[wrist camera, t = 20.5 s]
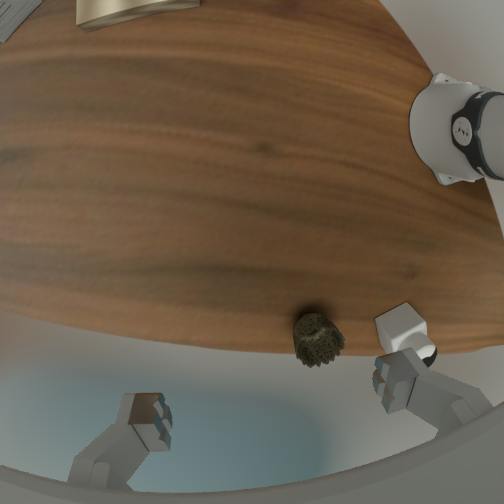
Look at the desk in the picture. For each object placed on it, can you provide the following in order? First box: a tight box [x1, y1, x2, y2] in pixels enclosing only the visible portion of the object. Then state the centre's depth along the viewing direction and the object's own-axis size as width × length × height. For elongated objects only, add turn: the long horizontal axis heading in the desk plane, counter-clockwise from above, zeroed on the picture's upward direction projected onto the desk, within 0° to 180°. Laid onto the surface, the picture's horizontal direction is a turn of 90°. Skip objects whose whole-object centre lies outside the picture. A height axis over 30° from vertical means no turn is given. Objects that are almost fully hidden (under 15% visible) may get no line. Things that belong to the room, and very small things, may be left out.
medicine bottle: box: [375, 302, 437, 367], centre depth 48 cm, size 7×7×12 cm
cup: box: [293, 312, 345, 368], centre depth 47 cm, size 8×7×8 cm
